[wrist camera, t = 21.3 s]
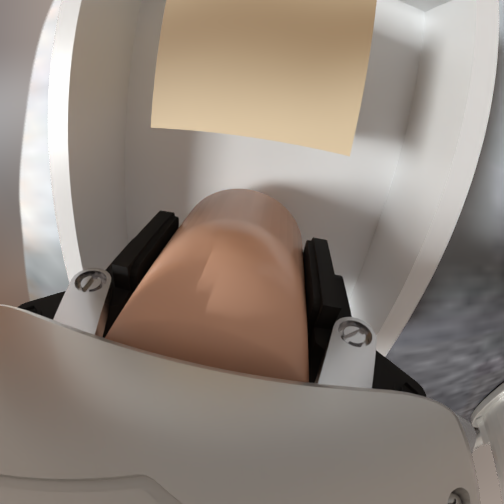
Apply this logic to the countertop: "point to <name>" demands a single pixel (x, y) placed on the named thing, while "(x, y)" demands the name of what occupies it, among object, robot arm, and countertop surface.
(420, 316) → the countertop surface
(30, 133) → the countertop surface
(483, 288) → the countertop surface
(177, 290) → the terracotta cylinder
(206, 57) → the wood cube
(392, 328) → the tote
